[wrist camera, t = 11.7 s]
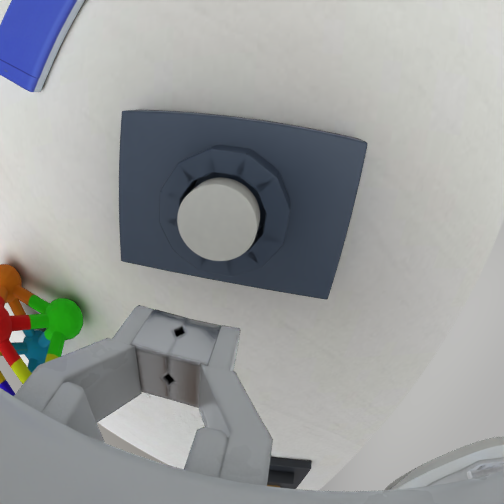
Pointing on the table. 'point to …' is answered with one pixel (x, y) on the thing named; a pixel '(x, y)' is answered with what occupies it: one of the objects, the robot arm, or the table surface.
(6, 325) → the molecular model
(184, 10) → the table surface
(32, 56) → the hard drive
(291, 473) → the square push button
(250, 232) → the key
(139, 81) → the table surface
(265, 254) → the push button box
